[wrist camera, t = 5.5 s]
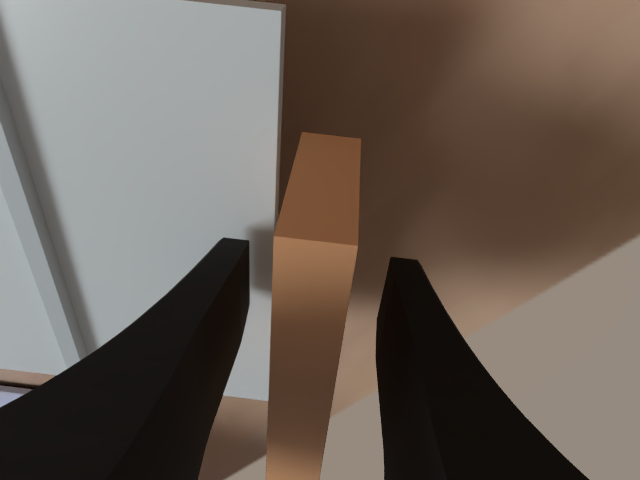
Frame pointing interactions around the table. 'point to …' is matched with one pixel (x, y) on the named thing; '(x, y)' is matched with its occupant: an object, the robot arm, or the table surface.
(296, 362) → the lid
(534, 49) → the table surface
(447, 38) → the table surface
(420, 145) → the table surface
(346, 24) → the table surface
